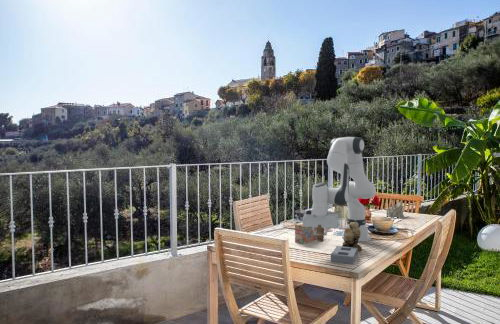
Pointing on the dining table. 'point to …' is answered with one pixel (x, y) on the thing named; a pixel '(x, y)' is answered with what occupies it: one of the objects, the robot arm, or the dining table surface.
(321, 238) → the walnut peg
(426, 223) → the dining table surface
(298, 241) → the stack of blocks
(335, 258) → the two-hole board
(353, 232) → the beige rough lumpy piece
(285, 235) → the dining table surface
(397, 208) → the ceramic cottage
